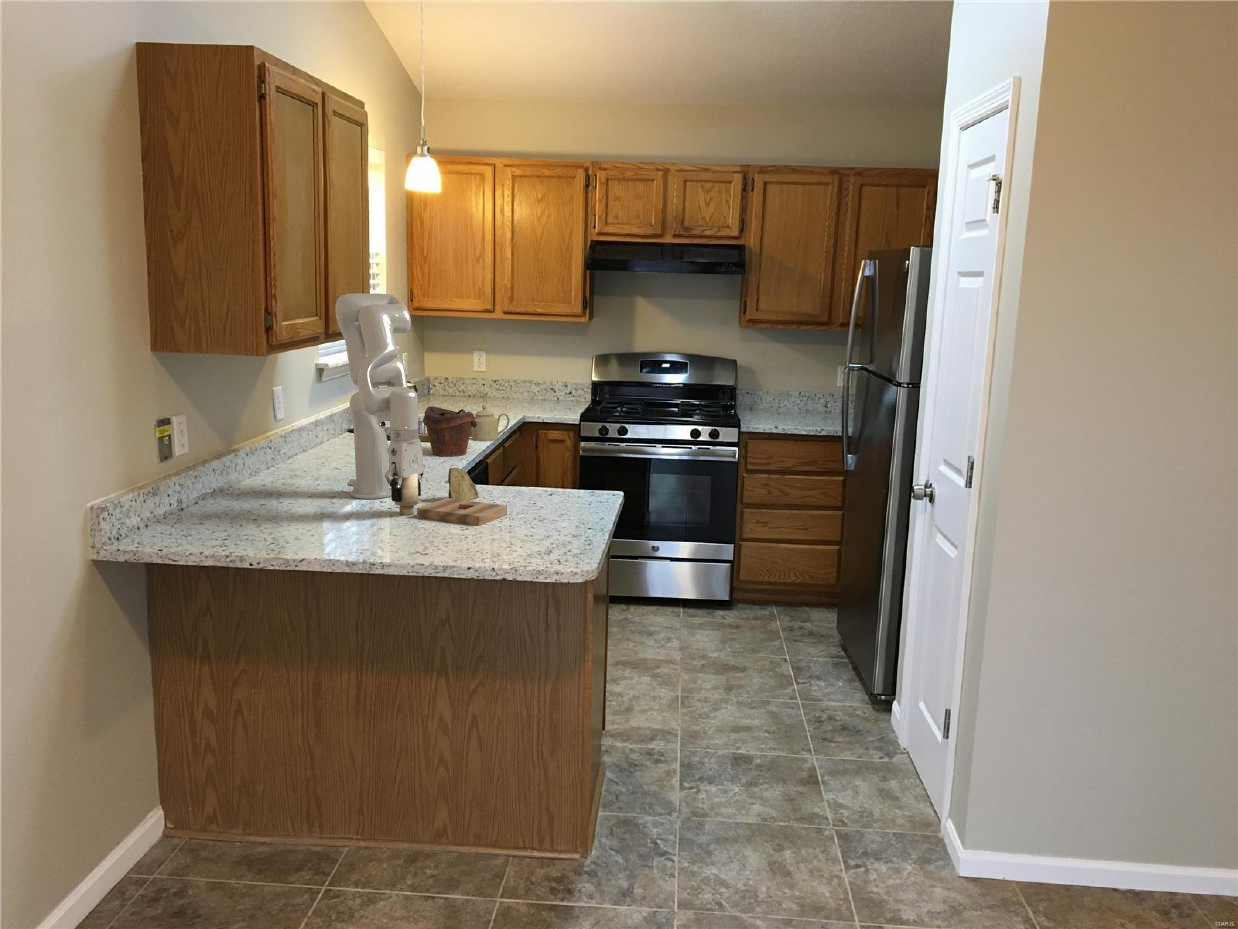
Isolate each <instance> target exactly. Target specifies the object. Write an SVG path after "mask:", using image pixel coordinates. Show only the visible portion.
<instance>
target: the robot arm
mask: <svg viewBox="0 0 1238 929" xmlns="http://www.w3.org/2000/svg"><path fill="white" fill-rule="evenodd" d="M335 318H336V322H337V325H338V327H339V330H340V332H341V334H342V336H343V337H342V338H343V339H344V343H345V346H346V353H347V359H348V360H347V362H348V367H349V373H350V378H351V381H352V383H353V384H354V385H355V386H358V387H357V388H358V391H356V392H355V393H353V394H352V395H351V396H350V399H349V410H350V411H349V412H350V416H351V420H352V425H353V439H354V440H353V441H354V442H353V444H354V458H355V459H354V463H355V464H354V465H355V466H354V467H355V478H350V479H349V481H347V483H346V486H348V487H353V489H352V491H351V492H350V496H351V497H353V498H355V499H362V500H363V499H364V500H371V499H372V500H375V499H383V498H388V497H390V498H391V501H392V502H394V503H395V502H402V487H400V486H401V482H402V479H403V478H404V479H405V478H409V477H411V475H412V474H416V473H417V474H418V497H421V496H422V488H421V487H422V485H421V483H422V481H423V475H424V472H425V469H426V464H425V463H424V456H423V455H424V453H423V448H422V442H421V439H420V437H419V407H418V406H419V405H418V402H419V399H418V394H417V391H415V390H413V389H410V388H409V387H408V382H407V381H408V380H407V376H406V369H405V365H404V362H403V361H402V358H401V357H400V356H399V355H398V354H399V353H398V352H399V351H398V346H397V343H396V338H395V334H406V333H409V330H410V328H411V325H412V319H411V318H412V317H411V314H410V311H409V309H408V308H407V306H406V305H405V304H404V303H403V302H402V301H401V300H399V299H398V298H397V296H395V295H394V294H390V293H365V292H364V293H360V292H359V293H358V292H357V293H347V294H342V295H341V296H339V297H338V298H337V300H336V302H335ZM382 422H389V428H390V429H389V430H390V431H389V432H390V435H389V437H390V443H389V449H388V437H387V433H386V432H385V430H383V428H382V427H381V426H380V425H379V423H382ZM396 475H398V476H396ZM396 479H398V481H397V482H396Z"/></svg>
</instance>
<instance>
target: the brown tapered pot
mask: <svg viewBox="0 0 1238 929" xmlns="http://www.w3.org/2000/svg"><path fill="white" fill-rule="evenodd" d="M422 423H423V424H424V425H425V427H426V431H427V437H428V440H429V445H430V448H431V454H432V455H434V456H437V457H445V458H446V457H461V456H465V455H466V454H467V453H468V445H469V441H470V436H471V432H472V429H471V426H472V427H474V428H475V427H476V425H477V423H476V420H475V413H473V412H471V411H466V410H465V409H463V408H461V409H459V410H458V411H454V410H451V409H445V408H442V407H439V406H434V405H433V406H427V407H426V408H425V410H424V416H423V418H422Z"/></svg>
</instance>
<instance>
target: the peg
mask: <svg viewBox="0 0 1238 929" xmlns="http://www.w3.org/2000/svg"><path fill="white" fill-rule="evenodd" d="M396 476H398V475H396ZM397 481H398V479H396V482H397ZM400 487H402V502H395V501H394V505H396V506H399V515H400V516H413V515H415V508H414V507H415V506H416V505H419V496H418V474H417V473H416V474H412V475H411V477H409V478H405V479H404V478H403V479H402V482H401V486H400Z"/></svg>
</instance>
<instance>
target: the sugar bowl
mask: <svg viewBox="0 0 1238 929" xmlns="http://www.w3.org/2000/svg"><path fill="white" fill-rule="evenodd" d="M487 407H488V406H487V405H486V404H485V403H483V404H482V405H481V410H478V411H476V412H475V413H474V417H475V420H476V423H477V425H476V427H475V428H474V427H472V426H471V440H472V441H474V442H493V441H498V439H499V436H500V435H501V434H503V433H504V432H505V431H506V430H507V429H508V428H509V425H510V422H511V420H510V416H509V414H507V413H506V412H501V413H500V414H499V415H498V417H497V418H496V417H495V413H494V412H493V411H491V410H488V409H487ZM502 416H506V418H507V419H506V420H507V422H506V425H505V426H504V428H503V429H502V430H500V431H499V424H500V419H501V417H502Z"/></svg>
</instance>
